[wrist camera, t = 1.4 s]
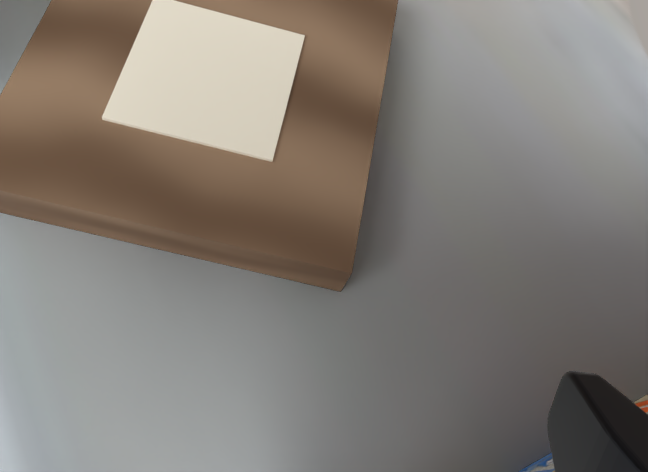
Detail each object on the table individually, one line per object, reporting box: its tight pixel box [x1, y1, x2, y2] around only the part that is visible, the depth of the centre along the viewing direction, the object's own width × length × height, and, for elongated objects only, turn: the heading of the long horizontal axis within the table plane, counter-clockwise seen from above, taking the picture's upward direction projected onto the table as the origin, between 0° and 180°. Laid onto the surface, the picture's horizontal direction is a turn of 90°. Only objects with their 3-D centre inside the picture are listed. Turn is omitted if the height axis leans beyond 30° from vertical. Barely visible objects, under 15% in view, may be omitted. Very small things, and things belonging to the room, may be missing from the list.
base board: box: [0, 0, 398, 292], centre depth 24 cm, size 14×14×2 cm
